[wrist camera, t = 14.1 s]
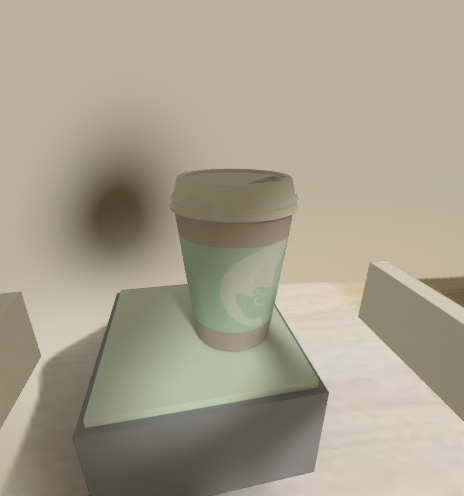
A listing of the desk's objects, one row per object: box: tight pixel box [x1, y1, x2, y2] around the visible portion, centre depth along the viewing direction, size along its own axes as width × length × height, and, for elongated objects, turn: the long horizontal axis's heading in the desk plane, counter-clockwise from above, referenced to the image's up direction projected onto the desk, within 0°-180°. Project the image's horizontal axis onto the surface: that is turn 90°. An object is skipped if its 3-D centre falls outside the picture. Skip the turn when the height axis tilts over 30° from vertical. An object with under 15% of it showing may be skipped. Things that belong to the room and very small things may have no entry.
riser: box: [73, 284, 329, 496], centre depth 25 cm, size 15×15×9 cm
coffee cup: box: [170, 169, 299, 352], centre depth 21 cm, size 8×8×12 cm
